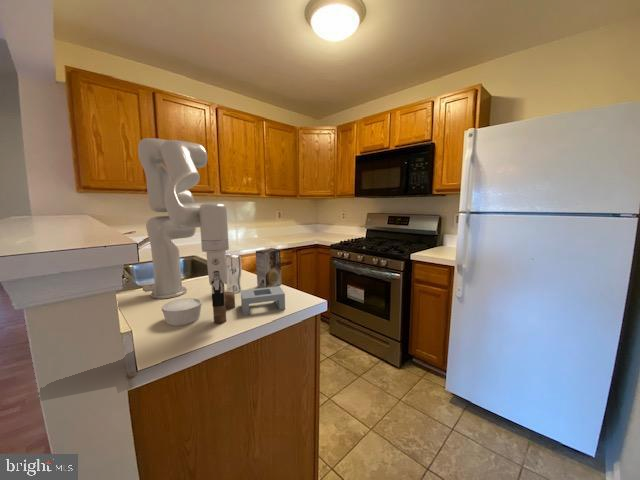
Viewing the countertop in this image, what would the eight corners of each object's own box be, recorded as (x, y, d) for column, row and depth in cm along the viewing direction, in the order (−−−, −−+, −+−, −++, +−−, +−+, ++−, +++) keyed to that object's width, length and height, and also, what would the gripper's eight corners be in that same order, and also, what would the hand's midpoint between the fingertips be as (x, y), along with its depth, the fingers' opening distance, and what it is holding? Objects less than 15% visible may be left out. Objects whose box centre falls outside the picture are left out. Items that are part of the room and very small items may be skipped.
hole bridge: (243, 315, 88) (242, 298, 87) (241, 305, 96) (240, 290, 95) (285, 309, 92) (284, 293, 92) (280, 300, 101) (279, 286, 100)
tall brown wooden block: (213, 324, 81) (210, 276, 79) (214, 320, 84) (211, 273, 82) (226, 323, 82) (223, 275, 80) (226, 318, 85) (223, 272, 83)
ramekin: (208, 319, 85) (207, 303, 84) (168, 331, 77) (167, 314, 76) (195, 309, 93) (194, 295, 92) (159, 319, 85) (157, 303, 84)
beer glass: (224, 294, 108) (222, 257, 106) (226, 289, 114) (224, 254, 112) (242, 293, 109) (240, 256, 107) (243, 287, 116) (241, 253, 114)
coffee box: (272, 282, 124) (271, 247, 122) (282, 284, 120) (281, 249, 118) (256, 286, 117) (254, 250, 115) (266, 289, 113) (264, 252, 111)
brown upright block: (224, 310, 92) (223, 296, 91) (224, 306, 96) (223, 292, 95) (235, 308, 93) (234, 294, 93) (235, 304, 97) (234, 291, 96)
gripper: (229, 249, 73) (232, 309, 75) (228, 240, 89) (231, 290, 92) (198, 251, 71) (203, 312, 73) (203, 242, 87) (207, 293, 89)
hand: (218, 300), depth 82 cm, fingers open, 9 cm apart
